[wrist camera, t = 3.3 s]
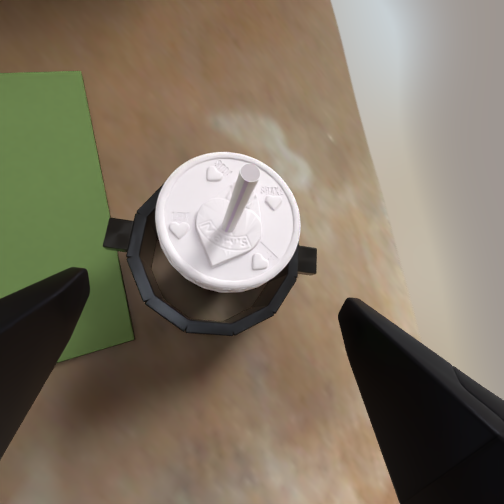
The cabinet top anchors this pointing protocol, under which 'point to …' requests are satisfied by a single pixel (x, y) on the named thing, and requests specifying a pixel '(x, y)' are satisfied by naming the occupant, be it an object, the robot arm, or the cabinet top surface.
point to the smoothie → (227, 222)
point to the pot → (140, 262)
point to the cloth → (57, 202)
